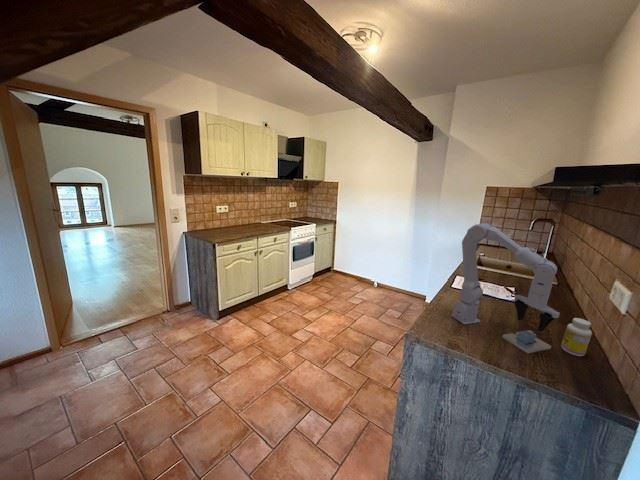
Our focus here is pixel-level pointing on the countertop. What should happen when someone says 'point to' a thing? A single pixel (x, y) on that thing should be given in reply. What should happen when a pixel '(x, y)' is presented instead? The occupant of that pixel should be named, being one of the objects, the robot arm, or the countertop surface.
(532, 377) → the countertop surface
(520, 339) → the block
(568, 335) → the supplement bottle
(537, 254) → the robot arm
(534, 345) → the plate
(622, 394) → the countertop surface
